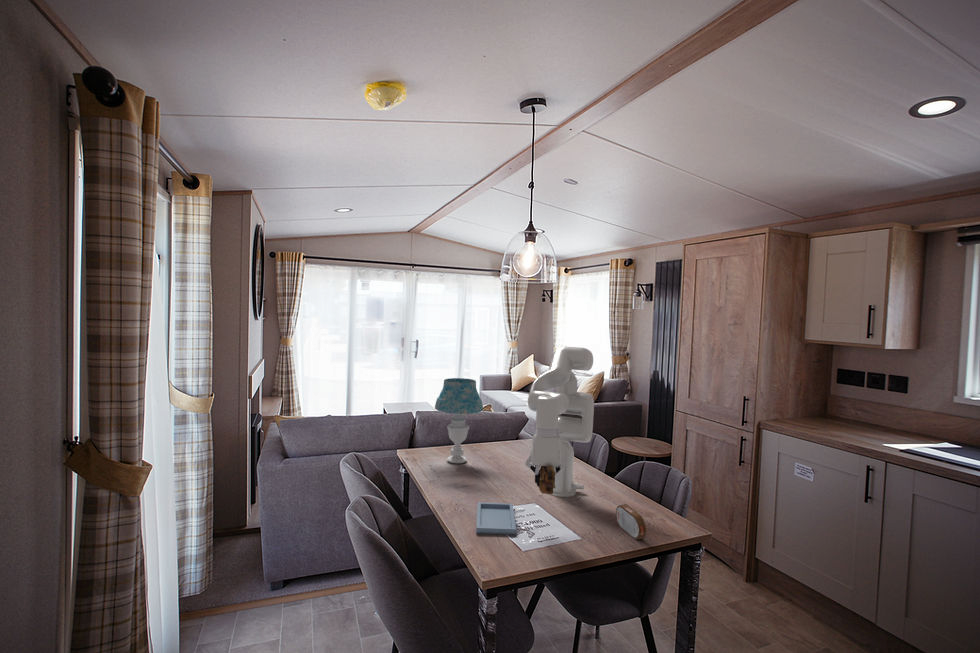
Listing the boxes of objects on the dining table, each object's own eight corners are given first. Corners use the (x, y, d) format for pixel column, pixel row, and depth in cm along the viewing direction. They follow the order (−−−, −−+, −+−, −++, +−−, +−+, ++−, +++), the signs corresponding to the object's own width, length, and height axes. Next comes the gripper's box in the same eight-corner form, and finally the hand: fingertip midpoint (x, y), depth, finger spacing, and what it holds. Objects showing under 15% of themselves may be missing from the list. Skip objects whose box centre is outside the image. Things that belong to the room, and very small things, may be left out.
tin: (646, 543, 153) (647, 518, 152) (638, 544, 152) (639, 519, 151) (621, 523, 167) (622, 500, 167) (613, 524, 166) (615, 500, 166)
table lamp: (484, 455, 241) (487, 378, 240) (476, 470, 217) (479, 385, 216) (439, 451, 244) (442, 376, 243) (426, 466, 221) (430, 382, 220)
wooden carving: (530, 483, 166) (531, 456, 166) (542, 482, 168) (543, 455, 167) (546, 502, 150) (547, 471, 150) (559, 501, 151) (560, 471, 151)
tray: (512, 508, 176) (512, 503, 176) (515, 535, 154) (516, 529, 154) (477, 507, 176) (477, 502, 175) (476, 533, 154) (476, 527, 154)
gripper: (569, 430, 162) (567, 482, 163) (521, 428, 162) (519, 480, 163) (573, 436, 155) (570, 490, 155) (523, 434, 155) (520, 488, 155)
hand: (544, 484), depth 159 cm, fingers closed on wooden carving, 4 cm apart
